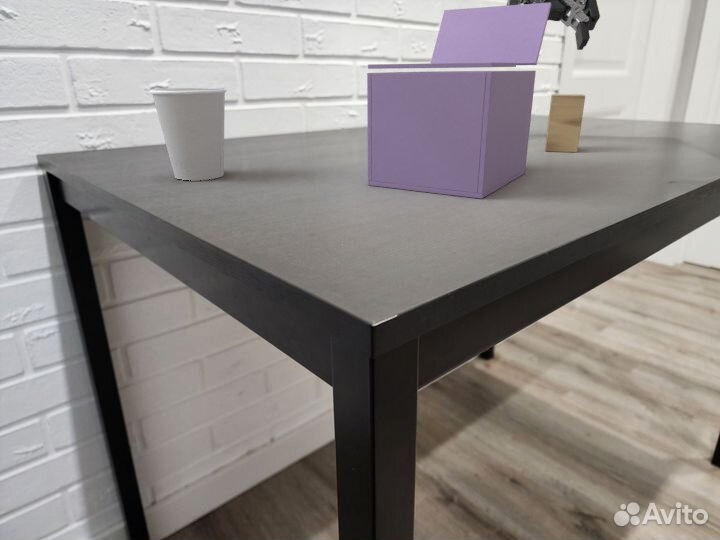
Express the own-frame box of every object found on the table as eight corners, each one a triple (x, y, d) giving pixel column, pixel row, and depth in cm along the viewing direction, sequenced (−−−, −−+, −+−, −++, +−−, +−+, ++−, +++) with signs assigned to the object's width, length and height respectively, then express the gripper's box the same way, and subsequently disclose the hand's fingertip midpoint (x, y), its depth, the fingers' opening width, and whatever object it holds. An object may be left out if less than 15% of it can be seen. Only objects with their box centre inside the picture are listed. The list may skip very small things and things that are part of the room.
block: (545, 147, 81) (551, 94, 78) (575, 148, 80) (583, 94, 77) (545, 151, 77) (552, 95, 74) (577, 152, 76) (585, 95, 73)
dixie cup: (189, 168, 67) (178, 87, 63) (246, 171, 65) (239, 87, 61) (147, 181, 59) (132, 90, 56) (211, 184, 57) (200, 90, 54)
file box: (426, 164, 68) (430, 64, 64) (525, 173, 62) (536, 62, 57) (367, 185, 56) (366, 64, 52) (482, 199, 50) (492, 62, 45)
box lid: (429, 64, 63) (430, 66, 64) (535, 63, 57) (536, 65, 57) (444, 9, 64) (445, 11, 64) (551, 2, 58) (551, 4, 58)
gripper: (510, -51, 84) (516, 26, 78) (598, -50, 83) (610, 27, 78) (499, -11, 91) (504, 61, 85) (580, -10, 91) (591, 63, 85)
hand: (555, 45), depth 82 cm, fingers open, 8 cm apart
